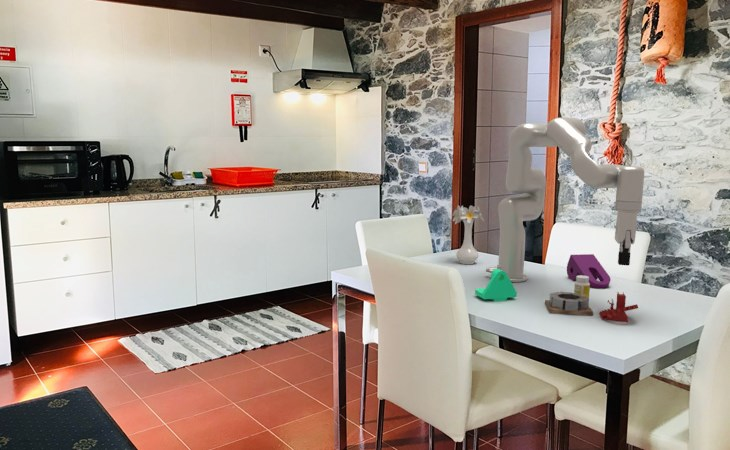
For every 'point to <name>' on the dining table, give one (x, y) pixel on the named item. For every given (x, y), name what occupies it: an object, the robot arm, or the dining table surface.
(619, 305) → the red toothed piece
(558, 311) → the block
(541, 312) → the dining table surface
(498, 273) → the camera mount
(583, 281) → the supplement bottle
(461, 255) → the flower vase
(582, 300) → the hub
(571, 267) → the mounting bracket
